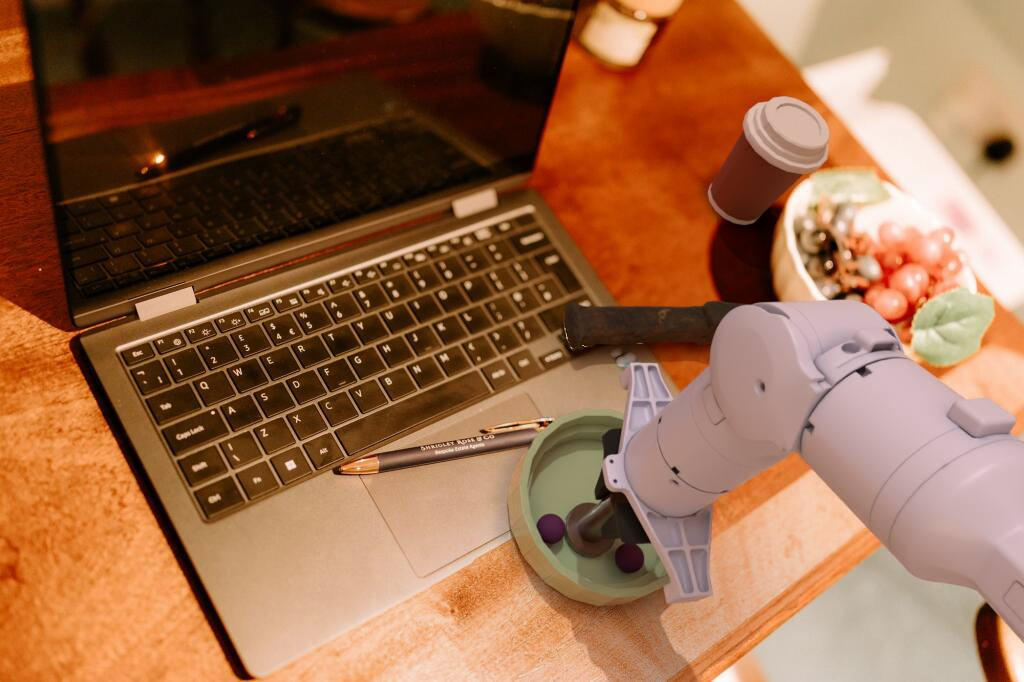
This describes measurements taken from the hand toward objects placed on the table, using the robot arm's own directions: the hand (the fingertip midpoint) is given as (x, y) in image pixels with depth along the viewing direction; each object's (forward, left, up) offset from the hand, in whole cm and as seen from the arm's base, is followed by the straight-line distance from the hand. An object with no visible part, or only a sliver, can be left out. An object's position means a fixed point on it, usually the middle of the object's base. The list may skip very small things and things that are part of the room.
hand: (611, 513), depth 50 cm
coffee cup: (+36, -24, -6) cm, 44 cm away
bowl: (+2, -1, -6) cm, 6 cm away
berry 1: (0, +3, -4) cm, 5 cm away
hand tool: (+19, -10, -6) cm, 22 cm away
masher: (0, 0, -5) cm, 5 cm away
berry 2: (-2, -3, -4) cm, 5 cm away
